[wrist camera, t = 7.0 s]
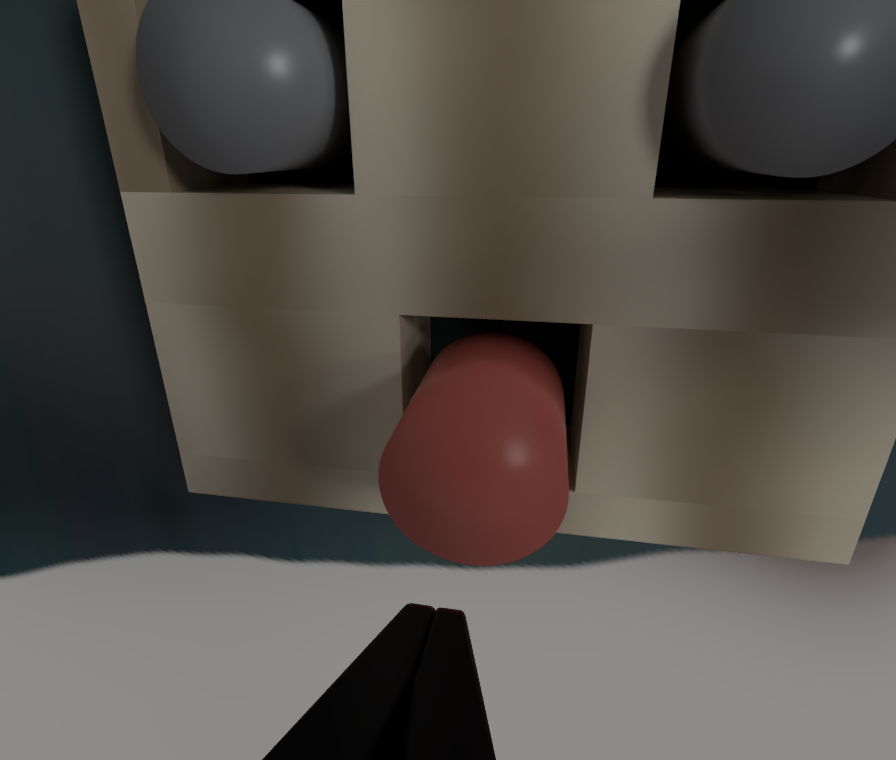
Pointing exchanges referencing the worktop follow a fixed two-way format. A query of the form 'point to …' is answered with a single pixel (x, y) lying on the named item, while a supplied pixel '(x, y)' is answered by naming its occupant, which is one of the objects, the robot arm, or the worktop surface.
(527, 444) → the red plug
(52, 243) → the worktop surface
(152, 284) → the plug board
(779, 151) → the grey plug
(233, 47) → the grey plug
